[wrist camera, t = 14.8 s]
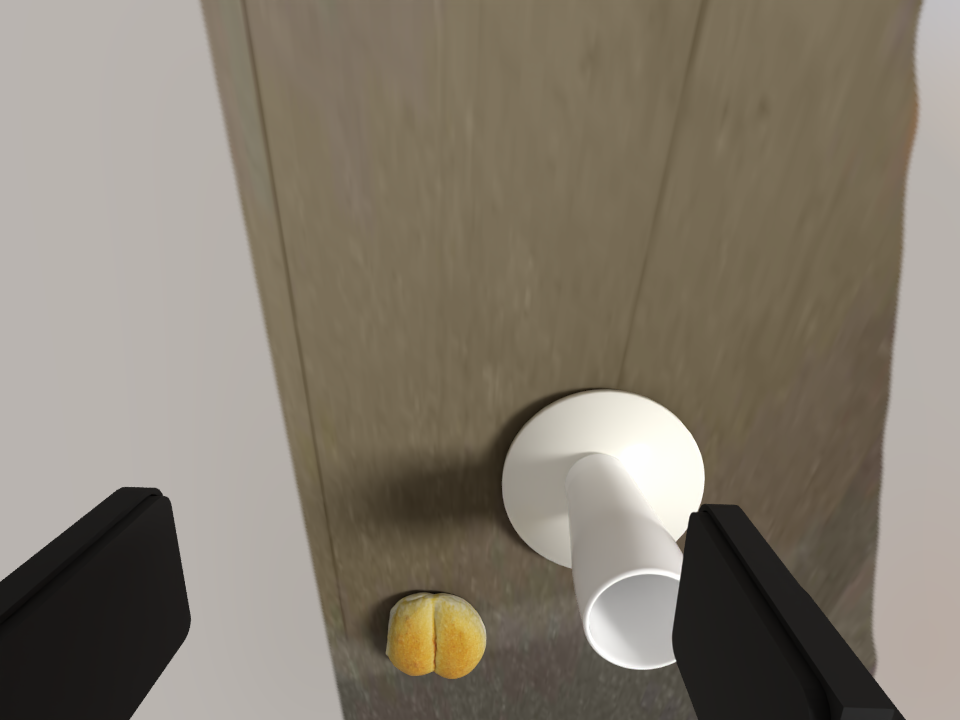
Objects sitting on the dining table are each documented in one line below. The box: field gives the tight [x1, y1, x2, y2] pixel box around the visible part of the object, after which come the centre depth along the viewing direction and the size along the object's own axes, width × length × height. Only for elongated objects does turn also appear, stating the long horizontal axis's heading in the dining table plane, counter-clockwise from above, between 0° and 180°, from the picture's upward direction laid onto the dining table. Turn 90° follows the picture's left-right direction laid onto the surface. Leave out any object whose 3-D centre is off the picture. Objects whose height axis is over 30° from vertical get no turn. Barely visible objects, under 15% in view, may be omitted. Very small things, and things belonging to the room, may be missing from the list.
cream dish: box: [502, 389, 705, 568], centre depth 44 cm, size 16×16×2 cm
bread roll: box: [386, 592, 486, 679], centre depth 48 cm, size 8×9×4 cm
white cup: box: [564, 454, 683, 670], centre depth 36 cm, size 7×7×15 cm
